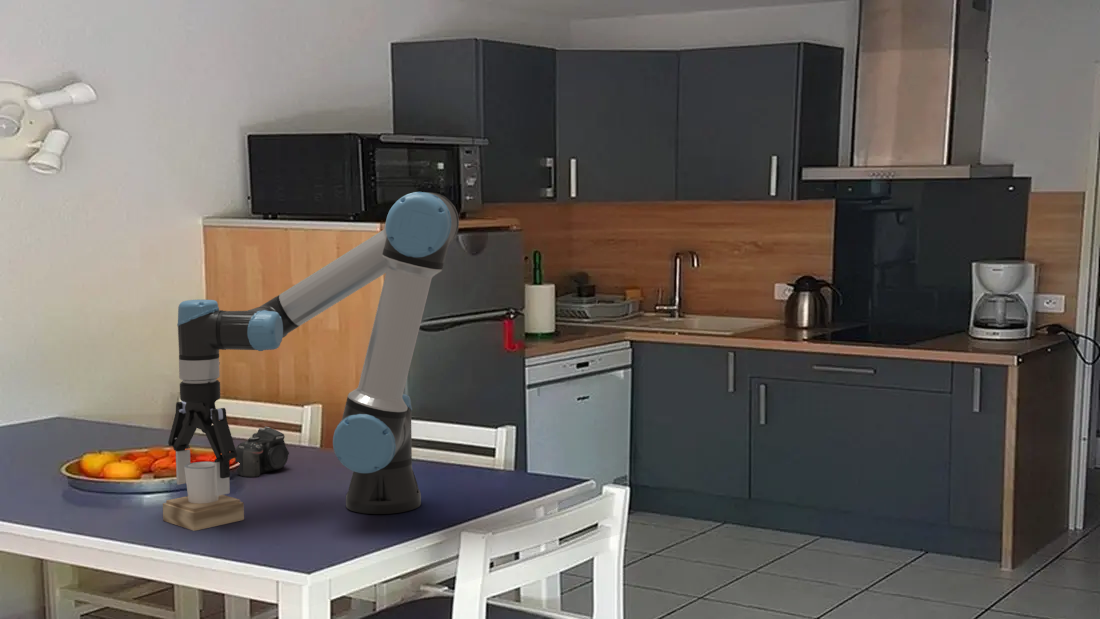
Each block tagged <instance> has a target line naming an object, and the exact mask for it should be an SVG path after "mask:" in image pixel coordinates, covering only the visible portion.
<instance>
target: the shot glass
mask: <svg viewBox="0 0 1100 619" xmlns="http://www.w3.org/2000/svg"><path fill="white" fill-rule="evenodd" d="M184 468H185V476H186V483H185V484H186V490H187V496H188V501H189V502H190V503H198V504H202V503H211V502H215V501H217V500H218V497H219V496H216V495H215V467H214V461H207V460H206V461H196V462H190V463H189V464H187V465H185V466H184Z"/></svg>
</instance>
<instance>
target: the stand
mask: <svg viewBox="0 0 1100 619" xmlns="http://www.w3.org/2000/svg"><path fill="white" fill-rule="evenodd" d="M244 507H245V504H244V502H243V501H241V499H239V498H236V497H232V496H229V495H227V494H224V495H219V497H218V500H217V501H215V502H211V503H202V504H198V503H190V502H189V501H188V495H187V496H182V497H175V498H172V499H166V502H163V503H162V521H163V522H166V523H169V524H172V525H176V526H178V527H182V528H184V529H186V530H187V529H188V530H190V531H193V532H194V531H199V530H200V531H201V530H204V529H208V528H213V527H217V526H223V525H227V524H231V523H235V522H239V521H244V520H245V508H244Z"/></svg>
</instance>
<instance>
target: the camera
mask: <svg viewBox="0 0 1100 619" xmlns="http://www.w3.org/2000/svg"><path fill="white" fill-rule="evenodd" d="M235 450H236V453H237V457H236V458H234V459H235V463H236V462H239V463H240V466H239V468H238V469H237V470H236V473H237V475H238V476H240V477H243V478H259V477H260V475H261V474H265V473H269V472H273V471H276V470H280V469H283V468H284V467H285V465H286V463H287V462H288V459H289V455H290V452H289V450H288V447H287V446H286V443H285V434H284V433H283V432H282V431H279V430H277V429H274V428H272V427H269V426H264V427H258V430H257V432H255V433H253V434H252V435H251V437H248V440H246V441H243V442H240V443H239V444H238V445H237V446H235Z"/></svg>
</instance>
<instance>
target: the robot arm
mask: <svg viewBox="0 0 1100 619" xmlns="http://www.w3.org/2000/svg"><path fill="white" fill-rule="evenodd" d="M387 213H388V214H387V216H386V220H385V223H384V227H383V229H382V230H381V231H379V232H377V233H376V234H374V235H373V236H371V237H370V238H368V239H366V240H364V241H363V242H361V243H360V244H358V245H357V246H354V248H352V249H350V250H349V251H346V253H344V254H342V255H341V256H339V257H338V258H336V259H334V260H332V261H331V262H329V263H328V264H327V265H325V266H323V267H322V268H320V269H318V270H317V271H316V272H314V273H312V274H310V275H309V276H307V277H305V278H304V279H302V280H300V281H299V282H298V283H295V284H294V285H293V286H291V287H289V288H288V289H286V290H284V291H283V292H281V293H280V294H278V295H276V296H275V297H273V298H271V299H270V300H268V301H267V302H265V303H263V304H262V305H260V306H258V307H255V308H252V309H249V310H223V309H222V310H221V309H220V307H219V303H218V301H217V300H215V299H188V300H182V301H181V302H180V303H179V304H178V308H177V309H178V311H177V325H176V326H177V336H178V337H177V338H178V340H177V341H178V373H179V374H178V377H179V379H180V380H181V381H180V383H179V399H180V401H176V403H175V414H174V418H173V421H172V424H171V430H170V434H169V438H168V441H167V444H168V446H169V447H172V448H173V449H172V450H173V451H175V469H176V471H175V474H176V485H179V486H180V485H185V484H186V476H185V468H184V466H185V465H187V464H189V463H191V450H190V448H191V447H190V443H191V441H192V439H193V437H194V434H195V432H196V431H197V429H199V430H200V431H201V432H202V433H203V434H205V435H206V438H207V441H208V442H209V444H210V446H211V447H210V448H211V449H212V452H213V453H214V456H215V459H214V460H213V462H214V467H215V495H216V496H219V495H229V494H230V493H231V492H230V490H231V488H230V486H231V484H230V476H231V469H230V467H231V466H230V463H231V462H230V461H231V460H232V459H235V458H236V457H237V453H236V450H235V448H236V446H235V443H234V440H233V436H232V433H231V429H230V425H229V423H228V422H229V421H228V418H227V410H226V408H225V407H220V408H217V407H216V401H219V400H220V398H221V382H220V381H219V380H218V378H220V376H221V375H220V363H221V362H220V350H222V351H224V350H225V351H226V350H233V351H234V350H235V351H236V350H237V351H239V350H241V351H258V352H263V351H273V350H277V349H278V348H279V347H280V346H281V343H282V341H283V338H285V337H286V336H287V335H288V334H289V333H292V332H293V331H295V330H296V329H297V328H299V327H300V326H302V325H303V324H305V323H307V322H309V321H310V320H311V319H313V318H315V317H316V316H318V315H320V314H321V313H323V312H325V311H326V310H328V309H330V308H331V307H333V306H334V305H336V304H337V303H339V302H341V301H343V300H344V299H346V298H347V297H349V296H351V295H352V294H354V293H356V292H357V291H359V290H360V289H362V288H364V287H365V286H367V285H368V284H370V283H372V282H373V281H375V280H377V279H379V278H380V277H382V276H383V275H385V276H384V281H383V284H382V289H381V291H380V292H381V293H380V296H379V301H378V304H377V310H376V312H375V316H374V321H373V325H372V328H371V332H370V333H371V334H370V337H369V342H368V346H367V350H366V354H365V358H364V361H363V362H364V363H363V366H362V370H361V373H360V374H361V375H360V378H359V382H358V386H357V388H355V389H353V390H352V391H349V393H348V394H347V397H346V402H345V406H344V409H343V413H342V418H341V420H340V421H339V423H338V424H337V426H336V428H335V429H334V433H333V437H332V447H333V452H334V454H335V456H336V458H337V460H338V461H339V462H340V464H341V465H343V466H344V467H345V468H346V469H348V470H350V471H351V472H352V475H351V478H350V482H349V487H348V490H347V493H346V495H345V507H346V509H347V510H349V511H352V512H354V513H358V514H367V515H389V514H390V515H391V514H397V513H398V514H399V513H404V512H405V513H406V512H409V511H412V510H415V509H417V508H419V507H420V506H421V505H422V495H421V494H422V493H421V490H420V489H419V486H418V485H419V484H418V481H417V479H416V476H415V472H414V469H413V464H412V463H413V461H412V458H413V456H412V454H413V451H412V450H413V448H412V447H413V446H412V444H413V443H412V442H413V441H412V440H413V439H412V411H413V407H412V400H411V398H410V396H409V395H408V394H405V393H404V391H405V387H406V383H407V379H408V375H409V372H410V368H411V364H412V359H413V355H414V351H415V347H416V343H417V339H418V336H419V335H418V334H419V331H420V327H421V323H422V318H423V315H424V310H425V308H426V307H425V306H426V305H427V304H426V302H427V298H428V294H429V290H430V287H431V282H432V280H433V279H432V278H434V277H435V276H436V275H438V274H440V273H441V272H443V269H444V268H443V267H444V264H445V260H446V256H447V252H448V248H449V245H451V243H452V242H453V241H454V239H455V238H456V236H457V234H458V232H459V228H460V227H459V226H460V219H459V213H458V211H457V209H456V206H455V205H454V204H453V203H452V201H450V199H448V198H447V197H446V196H444V195H441V194H439V193H437V192H432V191H431V192H429V191H427V192H425V191H423V192H422V191H413V192H411V193H407V194H405V195H403V196H401V197H400V198H398V200H396V201H395V203H394V204H393V205H392V206H391V208H390V209H389V211H388V212H387Z"/></svg>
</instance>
